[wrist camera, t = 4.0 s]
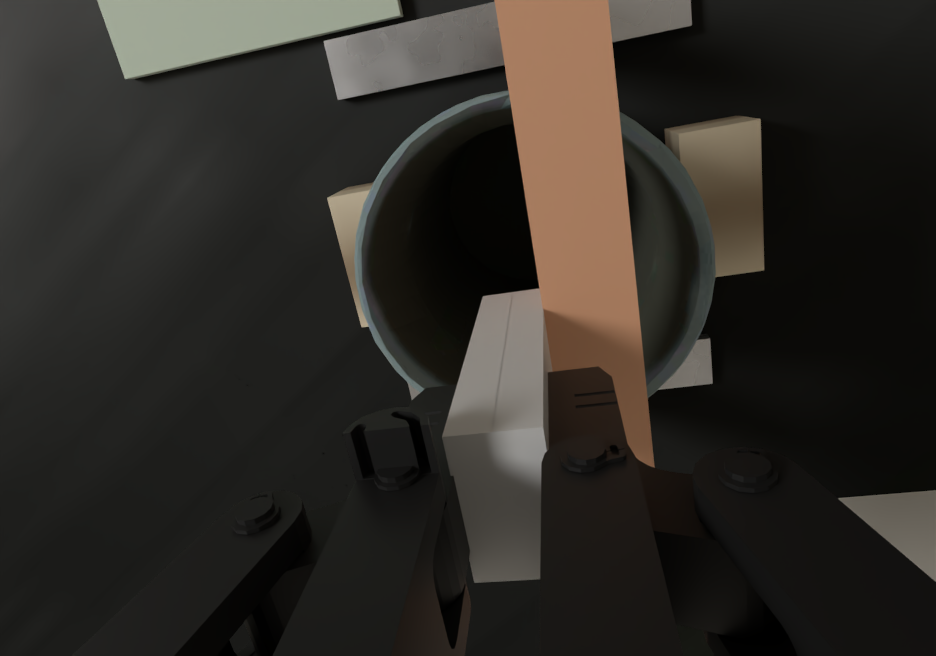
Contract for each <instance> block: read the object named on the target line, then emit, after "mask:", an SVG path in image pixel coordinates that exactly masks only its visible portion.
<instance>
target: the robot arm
mask: <svg viewBox="0 0 936 656" xmlns="http://www.w3.org/2000/svg"><path fill="white" fill-rule="evenodd" d="M343 437H344V441H345V444H346V448H347V451H348V455H349V458H350V462H351V465H352V469H353V472H354V476H355V479H356V481H355V483H354V485H353V487H352V489H351V492H350V494H349V496H348V498H347V499H346V500H343V501H340V502H338V503H335V504H331V505H328V506H325V507H321V508H318V509H314V510H311V511H307V512H306V511H305V508H304V505H303V502H302V500H301V499H300V498H299V496H298V495H297V494H296V493H293V492H289V491H285V490H281V491H267V492H262V493H261V494H259V493H258V494H255V495H252V496H250V497H248V498H247V499H245V500H243V501H241V502H239V503H237V504H235V505H234V506H233V507H231V508H230V509H229V510H227V511H226V512H225V513H223V514H222V515H221V516H220V517H219V518H218V519H217V520H216V521H215V522H214V523H213V524H212V525H210V526H209V527H208V528H207V529H206V530H205V531H204V532H203V533H202V534H201V535H200V536H199V537H198V538H197V539H196V540H194V541H193V542H192V543H191V544H190V545H189V546H188V547H187V548H186V549H185V550H184V551H183V552H182V553H181V554H180V555H178V556H177V557H176V558H175V559H174V560H173V561H172V562H171V563H170V564H169V565H168V566H167V567H166V568H165V569H164V570H163V571H161V572H160V573H159V574H158V575H157V576H156V577H155V578H154V579H153V580H152V581H151V582H150V583H149V584H148V585H147V586H145V587H144V588H143V589H142V590H141V591H140V592H139V593H138V594H137V595H136V596H135V597H134V598H133V599H132V600H131V601H129V602H128V603H127V604H126V605H125V606H124V607H123V608H122V609H121V610H120V611H119V612H118V613H117V614H116V615H115V616H113V617H112V618H111V619H110V620H109V621H108V622H107V623H106V624H105V625H104V626H103V627H102V628H101V629H100V630H99V631H98V632H96V633H95V634H94V635H93V636H92V637H91V638H90V639H89V640H88V641H87V642H86V643H85V644H84V645H83V646H82V647H80V648H79V649H78V650H77V651H76V652H75V653H74V654H73V655H72V656H465V648H466V641H467V634H468V627H469V619H470V612H471V605H470V597H469V592H468V588H467V583H466V574H467V568H468V562H469V560H470V565H471V569H472V574H473V578H474V583H480V582H498V581H515V580H533V579H540V648H539V656H683V652H682V648H681V643H680V639H679V635H678V631H677V627H676V624H677V625H681V626H685V627H690V628H694V629H699V630H703V632H704V634H705V637H706V640H707V643H708V645H709V647H710V648H711V650H712V652H713V653H714V655H715V656H936V582H935V581H934V580H933V579H932V578H931V577H929V576H928V575H927V574H926V573H925V572H924V571H922V570H921V569H920V568H919V567H918V566H917V565H915V564H914V563H913V562H912V561H911V560H909V559H908V558H907V557H906V556H905V555H904V554H902V553H901V552H900V551H899V550H898V549H897V548H895V547H894V546H893V545H892V544H891V543H890V542H888V541H887V540H886V539H885V538H884V537H882V536H881V535H880V534H879V533H878V532H877V531H875V530H874V529H873V528H872V527H871V526H870V525H868V524H867V523H866V522H865V521H864V520H863V519H861V518H860V517H859V516H858V515H857V514H855V513H854V512H853V511H852V510H851V509H850V508H848V507H847V506H846V505H845V504H844V503H843V502H841V501H840V500H839V499H838V498H837V497H835V496H834V495H833V494H832V493H831V492H830V491H828V490H827V489H826V488H825V487H824V486H823V485H821V484H820V483H819V482H818V481H817V480H816V479H814V478H813V477H812V476H811V475H810V474H808V473H807V472H806V471H805V470H804V469H803V468H801V467H800V466H799V465H798V464H797V463H795V462H793V461H792V460H790V459H788V458H787V457H785V456H783V455H781V454H778V453H775V452H771V451H768V450H765V449H760V448H753V447H751V448H749V447H735V448H726V449H720V450H717V451H715V452H712V453H709V454H707V455H705V456H704V457H703V458H702V459H700V460H699V461H698V462H697V463H696V464H695V467H694V471H693V475H692V474H683V473H675V472H669V471H664V470H660V469H657V468H654V467H651V466H648V465H647V464H645V463H643V462H641V461H640V460H638V459H637V458H636V457H635V455H634V453H633V451H632V450H631V448H630V447H629V445H628V443H627V439H626V434H625V430H624V426H623V422H622V417H621V413H620V409H619V405H618V400H617V396H616V393H615V388H614V384H613V379H612V376H610V375H609V374H608V373H606V372H605V371H604V370H602V369H601V368H600V367H599V366H597V367H589V368H580V369H571V370H562V371H554V372H553V371H552V365H551V358H550V351H549V344H548V337H547V331H546V324H545V317H544V310H543V307H542V301H541V295H540V288H539V289H532V290H524V291H517V292H510V293H503V294H495V295H488V296H483V298H482V301H481V305H480V308H479V311H478V315H477V318H476V322H475V325H474V329H473V332H472V336H471V339H470V342H469V346H468V349H467V353H466V356H465V360H464V363H463V366H462V370H461V373H460V377H459V380H458V384H456V385H448V386H439V387H430V388H425V389H424V390H423V391H422V392H421V393H420V394H418V395H417V396H416V397H415V398H414V399H413V400H412V401H411V402H410V405H409V407H395V408H390V409H385V410H380V411H377V412H374V413H372V414H369V415H366V416H364V417H362V418H360V419H359V420H357V421H356V422H354V423H352V424H351V425H350V426H349V427H348V428H347V429H346V430H345V431H344V432H343ZM243 622H244V623H245V626H246V628H247V631H248V633H249V636H250V638H251V640H250V642H249V643H248V644H247V645H246V647H245V648H244V649H243V650H241V651H240V652H239V653H238V654H237V655H236V653H235V652H234V651H233V648H232V646H231V644H230V641H229V639H230V638H231V637H232V636H233V634H234V633H235V632H236V631H237V630H238V628H239V627H240V626H241V625H242V624H243Z"/></svg>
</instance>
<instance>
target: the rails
mask: <svg viewBox="0 0 936 656" xmlns="http://www.w3.org/2000/svg"><path fill="white" fill-rule="evenodd" d="M608 4H609V14H610V24H611V34H612V43H614V42H619V41H623V40H628V39H633V38H638V37H642V36H647V35H652V34H657V33H661V32H666V31H671V30H676V29H680V28H685V27H689V26H692V16H691V0H608ZM324 45H325V49H326V53H327V57H328V61H329V65H330V69H331V73H332V78H333V82H334V86H335V90H336V94H337V98H338V100H343V99H348V98H353V97H358V96H362V95H367V94H372V93H377V92H381V91H386V90H391V89H396V88H400V87H405V86H410V85H415V84H419V83H424V82H429V81H433V80H438V79H443V78H448V77H452V76H457V75H462V74H467V73H471V72H476V71H481V70H486V69H490V68H495V67H500V66H505V64H504V57H503V51H502V45H501V38H500V32H499V25H498V19H497V13H496V6H495V2H492V3H487V4H483V5H479V6H474V7H470V8H466V9H461V10H457V11H453V12H448V13H444V14H440V15H435V16H431V17H426V18H422V19H418V20H413V21H409V22H405V23H400V24H396V25H392V26H387V27H383V28H379V29H374V30H370V31H365V32H361V33H357V34H352V35H348V36H344V37H339V38H335V39H331V40H326V41H324ZM705 384H713V379H712V362H711V345H710V337H709V336H708V334H701V335H700V336H699V337H698V339H697V341H696V343H695V345H694V346H693V348H692V350H691V352H690V353H689V355H688V357H687V358H686V360H685V361H684V362H683V364H682V365H681V366H680V367H679V369H678V370H677V371H676V372H675V374H674V375H673V376H671V377H670V378H669V379H668V380H667V381H666V382H665V383H664V384H663V385H662V386H661V387H660V388H659V389H658V390H661V389H670V388H678V387H687V386H696V385H705ZM408 386H409V390H410V394H411V398H412V400H413V399H414V398H415V397H416V396H417V395H418V394H420V392H419V391H417V390H416V389H414V388H413V387H412V386H411V385H410V384H409V383H408Z"/></svg>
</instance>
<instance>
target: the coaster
mask: <svg viewBox="0 0 936 656" xmlns="http://www.w3.org/2000/svg"><path fill="white" fill-rule="evenodd" d="M97 1H98V4H99V7H100V10H101V12H102V15H103V18H104V21H105V24H106V26H107V29H108V32H109V35H110V38H111V40H112V43H113V46H114V49H115V52H116V55H117V57H118V60H119V63H120V66H121V69H122V71H123V74H124V77H125V79H136V78H141V77H145V76H149V75H154V74H158V73H162V72H167V71H171V70H175V69H180V68H184V67H188V66H193V65H197V64H201V63H206V62H210V61H214V60H219V59H223V58H227V57H232V56H236V55H240V54H244V53H249V52H253V51H257V50H262V49H266V48H270V47H275V46H279V45H283V44H288V43H292V42H296V41H301V40H305V39H309V38H314V37H318V36H322V35H327V34H331V33H335V32H340V31H344V30H348V29H353V28H357V27H361V26H366V25H370V24H374V23H379V22H383V21H387V20H391V19H396V18H400V17H403V12H402V7H401V2H400V0H97Z"/></svg>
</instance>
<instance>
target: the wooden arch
mask: <svg viewBox="0 0 936 656" xmlns="http://www.w3.org/2000/svg"><path fill="white" fill-rule="evenodd" d="M495 6H496V13H497V19H498V25H499V32H500V38H501V45H502V51H503V57H504V64H505V70H506V77H507V83H508V90H509V96H510V102H511V109H512V115H513V122H514V128H515V134H516V141H517V147H518V154H519V160H520V166H521V173H522V179H523V186H524V192H525V199H526V205H527V211H528V218H529V224H530V231H531V237H532V243H533V250H534V256H535V263H536V269H537V275H538V282H539V288H540V295H541V301H542V307H543V310H544V317H545V324H546V331H547V337H548V344H549V351H550V358H551V365H552V371H553V372H554V371H562V370H571V369H580V368H589V367H597V366H599V367H600V368H601V369H602V370H604V371H605V372H606V373H608V374H609V375H610V376H612V379H613V384H614V388H615V393H616V396H617V400H618V405H619V409H620V413H621V417H622V422H623V426H624V430H625V434H626V439H627V443H628V445H629V447H630V448H631V450H632V451H633V453H634V455H635V457H636V458H637V459H638V460H640V461H641V462H643V463H645V464H647V465H648V466H651V467H654V458H653V448H652V438H651V428H650V418H649V408H648V398H647V387H646V377H645V367H644V357H643V347H642V337H641V327H640V317H639V307H638V297H637V287H636V276H635V266H634V256H633V246H632V236H631V226H630V216H629V206H628V196H627V186H626V176H625V165H624V155H623V145H622V135H621V125H620V115H619V105H618V95H617V85H616V75H615V65H614V54H613V44H612V34H611V24H610V14H609V4H608V0H495Z"/></svg>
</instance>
